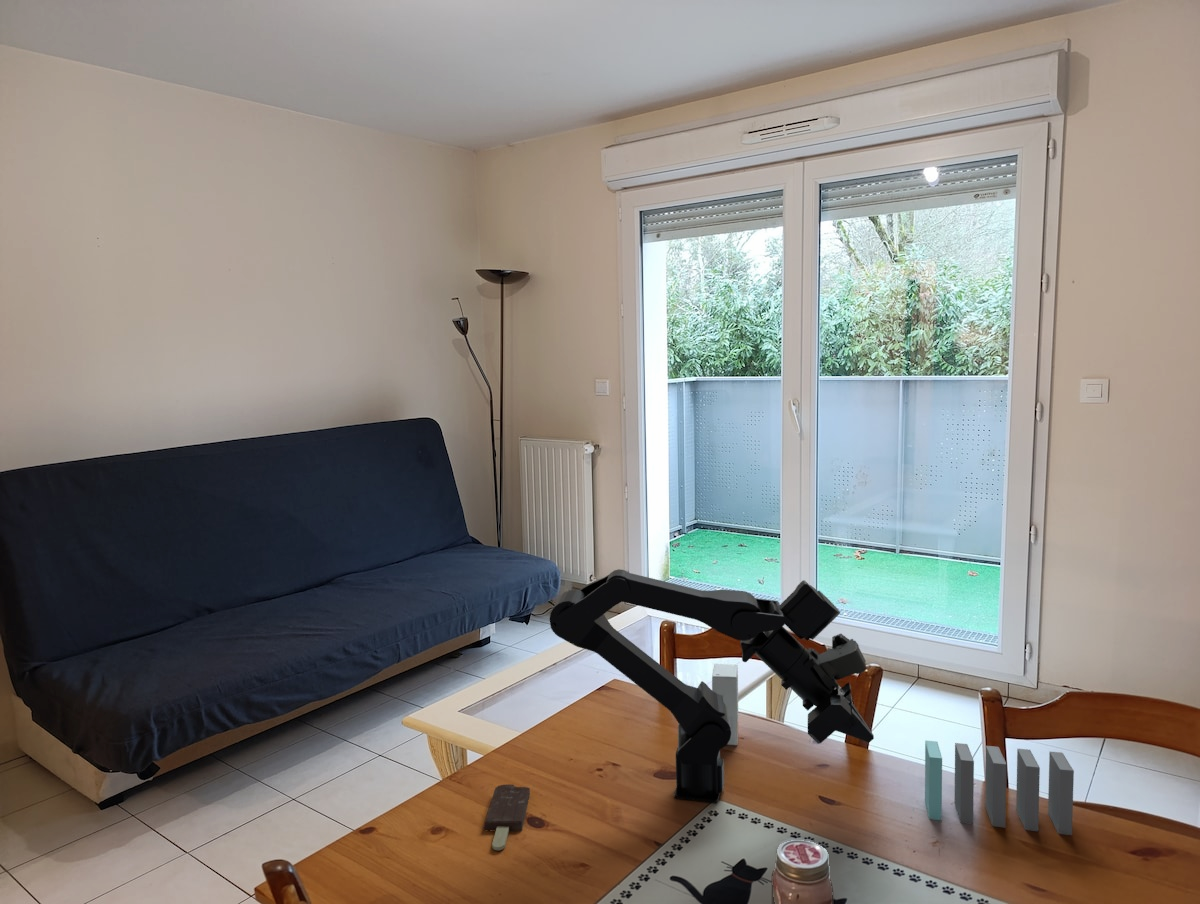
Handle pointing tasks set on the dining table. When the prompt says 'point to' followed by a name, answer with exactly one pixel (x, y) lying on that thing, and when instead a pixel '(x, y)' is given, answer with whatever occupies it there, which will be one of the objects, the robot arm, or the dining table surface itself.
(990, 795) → the domino
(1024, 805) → the domino
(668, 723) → the dining table surface
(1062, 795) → the domino
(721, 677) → the skincare box
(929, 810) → the placed domino
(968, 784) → the domino
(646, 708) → the dining table surface
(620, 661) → the robot arm
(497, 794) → the ice cream bar
